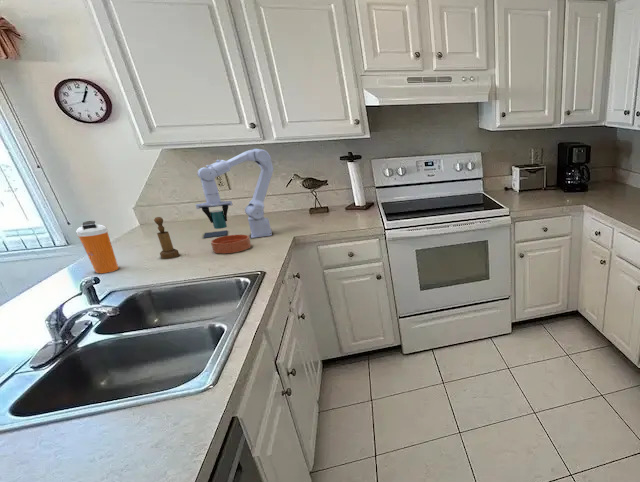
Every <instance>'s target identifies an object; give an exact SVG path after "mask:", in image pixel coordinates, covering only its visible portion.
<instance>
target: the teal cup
mask: <svg viewBox="0 0 640 482" xmlns="http://www.w3.org/2000/svg"><path fill="white" fill-rule="evenodd" d="M209 211H210V210H209ZM210 215H211V218H212V222H213V223H212V225H213V229H216V230H219V229H220V230H221V229H225V228H227V227H228V225H227V221H225V217H224V212H223V209H216V210H215V209H214V210H211V211H210Z"/></svg>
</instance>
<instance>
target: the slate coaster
mask: <svg viewBox="0 0 640 482" xmlns="http://www.w3.org/2000/svg"><path fill="white" fill-rule="evenodd" d="M223 236H228V230H219V231H210V232H205V233H204V235H203V239H209V238H219V237H223Z"/></svg>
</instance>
